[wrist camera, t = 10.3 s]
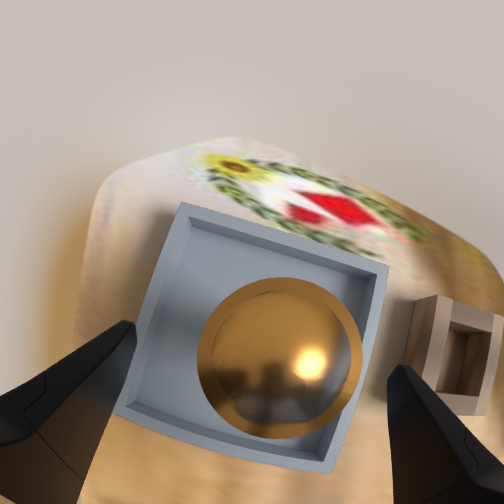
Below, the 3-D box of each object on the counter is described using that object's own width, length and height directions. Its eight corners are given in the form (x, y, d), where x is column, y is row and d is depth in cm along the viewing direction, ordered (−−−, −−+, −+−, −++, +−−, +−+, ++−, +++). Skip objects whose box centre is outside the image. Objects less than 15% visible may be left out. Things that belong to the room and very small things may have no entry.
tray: (320, 460, 17) (330, 473, 14) (124, 404, 17) (110, 412, 15) (373, 273, 21) (389, 266, 18) (186, 216, 21) (181, 201, 19)
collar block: (462, 410, 18) (484, 415, 15) (390, 404, 18) (411, 412, 15) (481, 321, 20) (504, 317, 17) (415, 300, 20) (437, 294, 17)
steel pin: (290, 366, 18) (377, 407, 6) (231, 381, 18) (221, 455, 6) (275, 309, 19) (338, 259, 7) (216, 323, 19) (179, 298, 7)
